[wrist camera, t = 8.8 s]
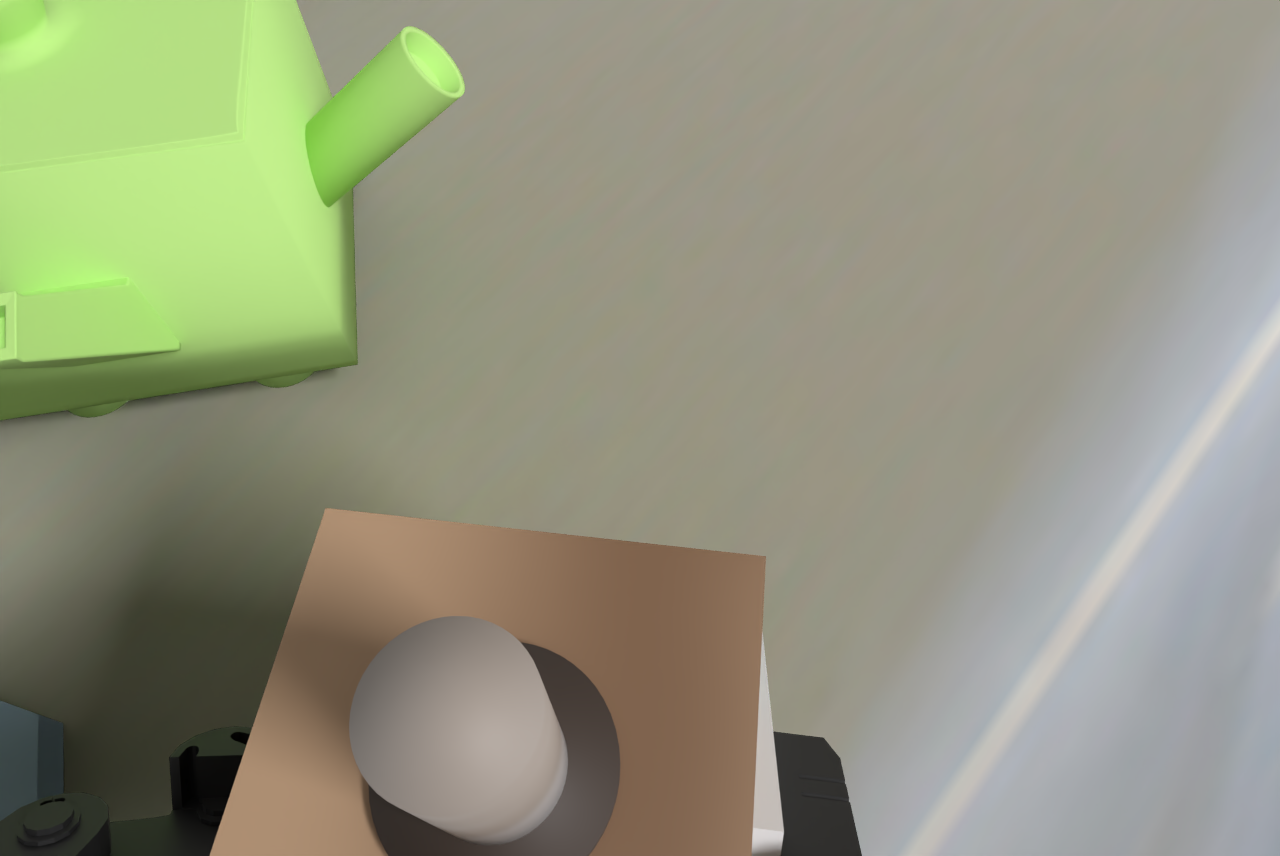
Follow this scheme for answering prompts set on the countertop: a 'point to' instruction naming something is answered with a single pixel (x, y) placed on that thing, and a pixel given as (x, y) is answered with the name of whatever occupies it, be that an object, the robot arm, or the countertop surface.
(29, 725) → the tray
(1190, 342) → the countertop surface
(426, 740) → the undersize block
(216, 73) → the kettle
